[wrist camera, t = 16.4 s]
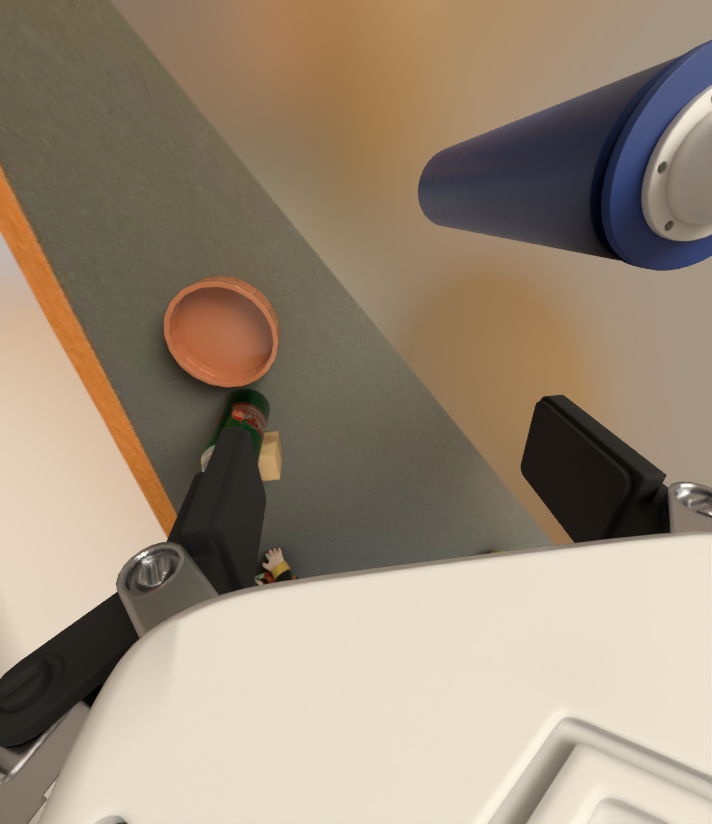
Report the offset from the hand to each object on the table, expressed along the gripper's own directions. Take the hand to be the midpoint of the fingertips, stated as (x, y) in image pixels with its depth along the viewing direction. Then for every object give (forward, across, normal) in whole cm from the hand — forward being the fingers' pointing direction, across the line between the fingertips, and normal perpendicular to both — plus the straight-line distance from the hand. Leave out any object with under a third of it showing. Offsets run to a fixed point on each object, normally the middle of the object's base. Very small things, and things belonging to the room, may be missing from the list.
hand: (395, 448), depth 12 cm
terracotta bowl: (+28, +12, +4) cm, 31 cm away
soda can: (+28, +12, +13) cm, 34 cm away
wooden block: (+28, +12, +19) cm, 36 cm away
